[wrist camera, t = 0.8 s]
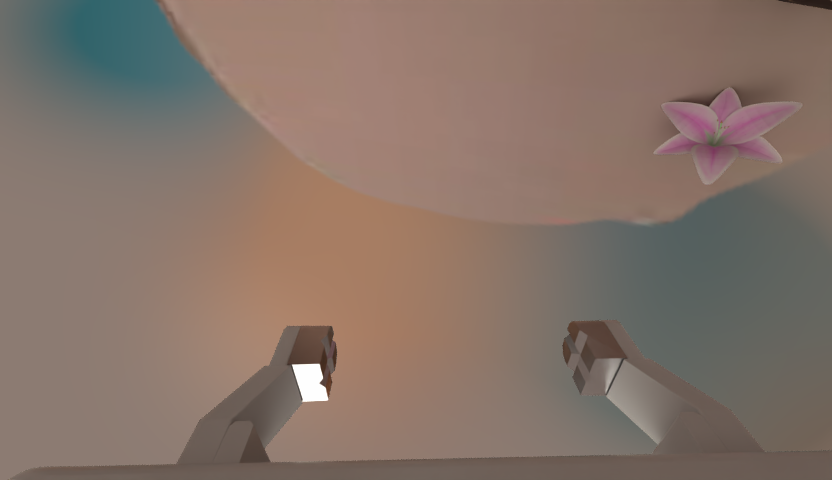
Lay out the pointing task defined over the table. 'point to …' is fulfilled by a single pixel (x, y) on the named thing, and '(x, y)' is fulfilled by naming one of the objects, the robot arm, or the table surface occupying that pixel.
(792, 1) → the coffee mug
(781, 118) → the lily
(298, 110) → the table surface
